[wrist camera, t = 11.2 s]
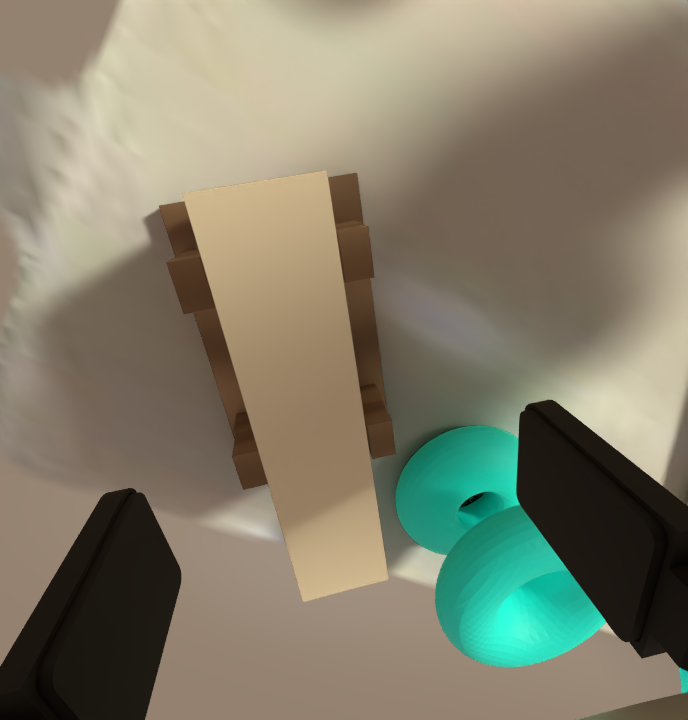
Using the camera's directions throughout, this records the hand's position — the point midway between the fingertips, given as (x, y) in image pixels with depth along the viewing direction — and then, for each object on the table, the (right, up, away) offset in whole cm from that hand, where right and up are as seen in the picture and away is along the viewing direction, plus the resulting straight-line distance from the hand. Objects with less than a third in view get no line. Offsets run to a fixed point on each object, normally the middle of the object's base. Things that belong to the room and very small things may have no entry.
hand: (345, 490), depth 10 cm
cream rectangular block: (-2, +3, +9) cm, 10 cm away
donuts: (+8, -5, +18) cm, 21 cm away
